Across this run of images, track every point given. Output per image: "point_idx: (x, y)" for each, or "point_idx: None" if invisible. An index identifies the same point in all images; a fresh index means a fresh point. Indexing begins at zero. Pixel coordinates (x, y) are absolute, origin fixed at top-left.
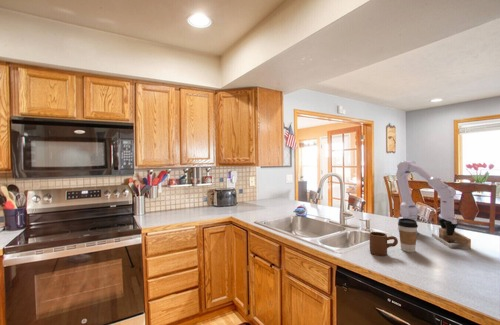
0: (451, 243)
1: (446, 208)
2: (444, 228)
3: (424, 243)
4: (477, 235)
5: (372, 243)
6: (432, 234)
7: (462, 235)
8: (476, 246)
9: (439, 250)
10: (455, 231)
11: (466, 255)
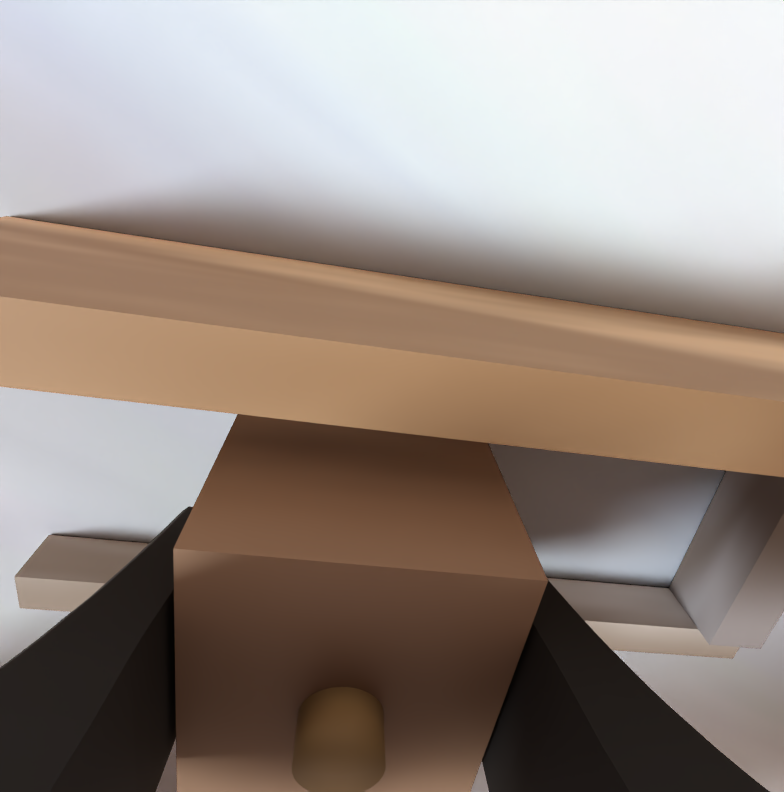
0: (730, 636)
1: None
2: (255, 735)
3: (487, 787)
4: None
5: None
6: (57, 601)
7: (758, 428)
8: (742, 56)
9: (752, 751)
10: (250, 336)
11: None
